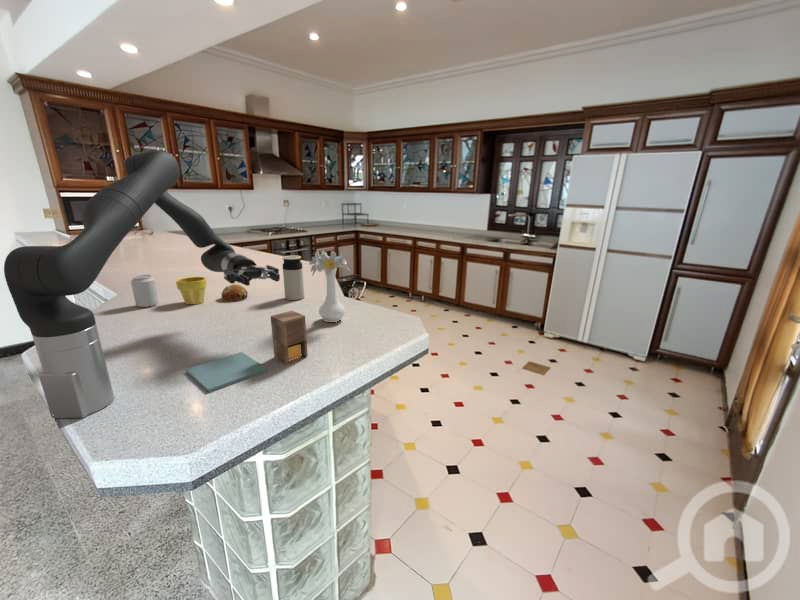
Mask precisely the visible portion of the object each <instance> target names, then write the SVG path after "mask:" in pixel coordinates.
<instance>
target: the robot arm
mask: <svg viewBox="0 0 800 600" xmlns="http://www.w3.org/2000/svg"><path fill="white" fill-rule="evenodd" d="M124 170H125V172H126V175H127V176H124V177H122V178H120V179H117V180H116V181H113V182H111V183H109V184H107V185H105V186H104V187H103V188H101V189H99V190H98V191H97V192H96V193H95V194H94V195H93V196H92V197H90V199H88V200H87V202H86V203H85V204H84V205H83V207H82V211H81V219H82V220H81V221H82V225H83V229H82V231H81V232H80V233H79V234H78V235H77V236H76V237H75V238H74V239H73V240H71V241H69V242H68V243H66V244H63V245H28V246H25V245H23V246H19V247H17V248H15V249H12V250H11V251H10V252H9V253H7V256H6V258H5V260H4V263H3V264H4V265H3V275H4V278H5V283H6V285H7V288H8V291H9V293H10V296H11V298H12V300H13V303H14V305H15V308H16V311H17V312H18V313H17V314H18V315H19V317H20V319H21V321H22V322H23V323H24V325H26V326H27V327H28V328H29V331H30V333H31V336H32V340H33V343H34V347H35V350H36V354H37V357H38V358H39V363H40V366H41V368H42V369H41V370H42V373H40V374H39V376H38V378H39V381H40V384H41V389H42V390H43V393H44V396H45V400H46V403H47V406H48V410H49V413H50V416H51V418H52V419H74V418H75V419H80V418H86V417H88V415H90V414H93V413H96V412H99V410H102V409H104V408H105V406H106V407H107V406H109V405H110V404H112V402H113V401H114V399H115V394H114V392H113V391H114V390H113V387H112V382H111V380H110V379H111V378H110V375H109V371H108V367H107V362H106V359H105V354H104V350H103V346H102V343H101V338H100V334H99V329H98V326H97V323H96V318H95V314H94V313H93V311H92V310H91V309H90V308H87V307H84V306H82V305H79V304H77V303H75V302H73V301H71V300H70V299H69V298H68V297H66V296H76V295H79V294H81V293H83V292H85V291H86V290H88V289H89V288H90V287H92V286H91V285H92V284H94V282H95V281H96V279H97V278H98V277H99V275H100V273H101V272H102V270H103V268H104V266H105V265H106V263H107V262H108V260H109V258H110V257H111V255H112V254H113V252H114V251H115V250H116V249H117V247H119V245H120V244H121V242H123V240H124V239H125V237H127V235H128V234H129V233H130V232H131V231H132V230H133V229H135V227H136V226H137V224H138V223H139V222H140V221H141V219H142V218H143V217H144V215H145V214H146V213H147V212H148V211H149V210H150V209H151V207H153V205H156V206H157V207H158V208H159V209H161V210H162V212H164V213H165V214H166V215H167V216H169V217H170V218H171V219H172V220H173V222H175V223H176V224H177V225H178V226H179V227H180V229H181V230H182V231H183V233H185V235H186V236H187V237H188V239H189V240H190V241H191V242H192V244H193V245H195V246H196V247H197V248H199V249H202V248H206V247H210V246H211V247H210V248H208V249H207V250H206V251H204V252H203V253H202V254H201V256H200V261H201V264H202V265H203V267H204V268H205V269H207V270H209V271H211V272H213V273H223V279H224V280H225V281H227V282H228V283H230V284H231V285H232V284H236V283H237V284H242V285H244V286H250V284H251V283H250V281H252V280H256V279H257V280H258V279H259V280H267V279H270V280H272V281H275V282H279V281H280V278H281V275H280V274H279V272H280V269H279V268H276V267H275V266H272V265H269V264H266V266H259V265H257V263H256V262H255V261H254V260H253V259H251V258H249V257H247V256H245V255H242V254H240V253H237V252H235V250H234V248H233V247H232V246H231V245H230V244H228V243H227V242H226V241H224V240H223V239H222V238H221V237H219V236H218V235H217V234H216V233H215V231H214V230H213V229H212V228H211V226H210V225H209V223H208V222H207V220H206V219H205V218H204V217H203V216H202V215H201V214H199V212H197V211H196V210H194V209H192V207H189V206H188V205H186V204H184V203H183V202H181V201H180V200H178V199H177V198H175V197H174V196H172V195H171V194H170V193H169V192H168V190H169V189H171V188H173V187H174V186H175V185H176V184H177V183H178V181H179V178H180V176H181V170H180V165H179V163H178V160H177V159H176V158H175V157H174V156H173V155H172V154H171V153H169V151H164V150H163V149H159V150H158V149H153V150H149V151H144V152H141V153H137V154H132V155H129V156H127V157H126V159H125V160H124ZM52 414H53V415H54V416H53V415H52Z"/></svg>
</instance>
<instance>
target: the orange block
mask: <svg viewBox="0 0 800 600" xmlns="http://www.w3.org/2000/svg"><path fill="white" fill-rule="evenodd" d="M300 356H302V355H301V344H300V343H296V344H293V345H290V346H288V357H289V360H292V359H295V358H297V357H300ZM300 358H301V357H300ZM297 359H298V358H297ZM295 360H296V359H295ZM292 361H293V360H292Z"/></svg>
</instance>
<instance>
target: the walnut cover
mask: <svg viewBox="0 0 800 600" xmlns="http://www.w3.org/2000/svg"><path fill="white" fill-rule="evenodd" d="M270 323H271V326H270V327H271V335H272V336H271V337H272V346H273V357H274V358H275V359H277V358H278V359H277V360H278V361H280V360H281V361H280V362H282V361H283V362H282V363H284V362H285V363H286V364H285V363H284V364H285V365H289V364H290V361H289V357H288V346H290V345H293V344H296V343H300V344H301V354H302V355H304V356H308V355H309V354H308V340H307V325H306V315H304V314H301V313H299V312H297V311H294V310H290V311H289V310H288V311H285V312H280V313H277V314H273V315H270ZM302 355H301V356H302ZM304 356H303V357H304ZM288 363H289V364H288Z"/></svg>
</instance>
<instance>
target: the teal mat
mask: <svg viewBox="0 0 800 600" xmlns="http://www.w3.org/2000/svg"><path fill="white" fill-rule="evenodd" d="M185 371H186V374H188V375H189V376H190V378H192V379H193V381H195V382H196V383H197V384H199V386H201V388H203V389H204V390H205V391H206V392H207V393H209V394H210V393H212V392H215V391H218V390H221V389H223V388H226V387H228V386H231V385H233V384H236V383H239V382H241V380H242V381H244V380H247V379H250V378H252V377H255V376H257V375H260V374H263V373H266V372H268V368H267V367H266V366H264V365H263V364H261V363H260V362H258V361H256V360H255V359H253V358H252V357H250V356H248V354H246V353H244V352H242V351H240V352H237V353H233V354H230V355H227V356H224V357H220V358H217V359H215V360H212V361H207V362H205V363H201V364H199V365H196V366H191V367H188V368H186V369H185ZM246 378H247V379H246Z"/></svg>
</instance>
